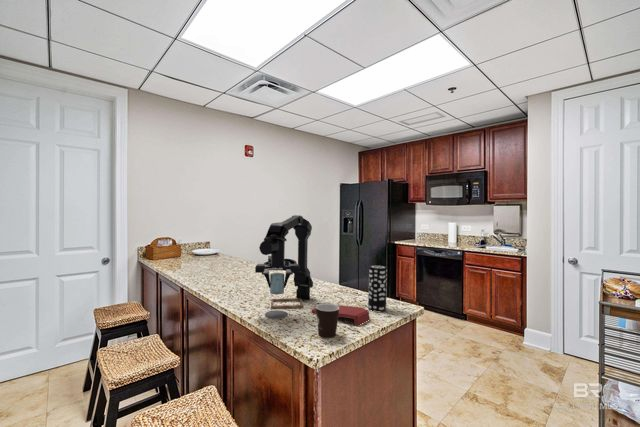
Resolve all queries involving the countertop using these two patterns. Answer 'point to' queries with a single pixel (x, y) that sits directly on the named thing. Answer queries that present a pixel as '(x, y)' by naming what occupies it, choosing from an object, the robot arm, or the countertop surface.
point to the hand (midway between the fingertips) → (277, 287)
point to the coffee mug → (327, 320)
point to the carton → (352, 313)
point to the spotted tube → (377, 288)
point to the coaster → (276, 314)
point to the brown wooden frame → (286, 305)
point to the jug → (277, 283)
